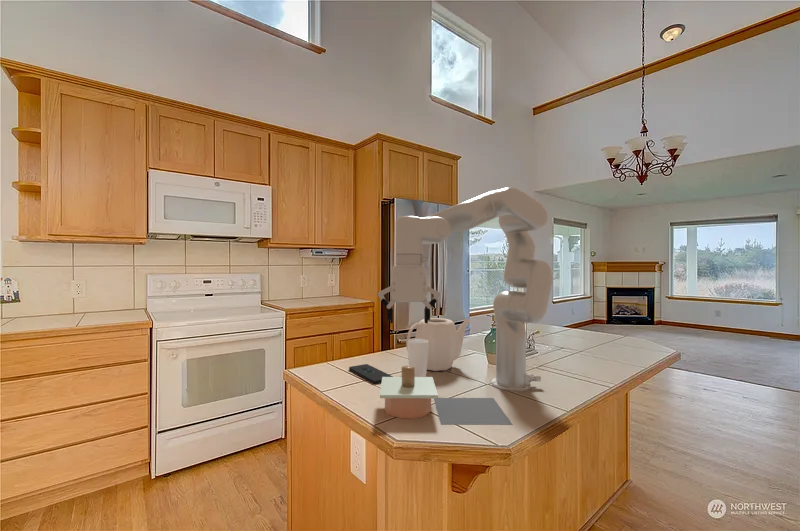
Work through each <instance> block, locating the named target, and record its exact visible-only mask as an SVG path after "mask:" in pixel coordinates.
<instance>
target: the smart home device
mask: <svg viewBox="0 0 800 531" xmlns="http://www.w3.org/2000/svg"><path fill="white" fill-rule="evenodd" d="M348 370H349V372H351V373H353V374H355V375H357V376H359V377H360V378H362V379H364V380H365V381H367V382H369V383H371V384H373V385H379V384H381V383H382V377H394V376H393V375H391V374H389V373H386V372H385V371H383V370H380V369H378V368H377V367H374V366H373V365H370V364H369V363H365V364H358V365H353V366H349V367H348Z"/></svg>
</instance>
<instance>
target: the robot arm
mask: <svg viewBox="0 0 800 531" xmlns="http://www.w3.org/2000/svg"><path fill="white" fill-rule="evenodd" d="M548 217H549V216H548V212H547V209H546V207H545V206H544V205H543V204H542V203H540V202H539V201H538V200H536V199H534V198H533V197H532V196H531V195H529V194H527V193H525V192H524V191H523V190H521V189H518V188H516V187H513V186H509V187H508V186H507V187H503V188H500V189H495V190H490V191H488V192H485V193H483V194H480V195H478V196H476V197H473V198H471V199H468V200H466V201H463V202H460V203H458V204H454V205H452V206H450V207H448V208H445V209H443V210H440V211H437V212H434V213H431V214H429V215H427V216H424V217H419V216H414V215H404V216H403V215H402V216H399V217H397V218H396V220H395V265H392V270H391V277H390V286H388V287H386V288H384V289H382V290H380V291H379V292H377V296H378V297H379V298H378V299H379V300H380V301H381V303H382V305H383V306H385V308H386V309H387V321H389V324H393V323H394V308H393V306H394V305H395V303H422V304H423V305H424V306H425V307H424V312H423V313H424V317H423V319H424V322H425V323H428V320H430V318H431V309H432V307H433V306H434V305H436V303H437V302H438V300H439V298H440V295H441V293H440V291H437V290H435V289H434V288H431V287H429V286H428V278H427V270H426V266H424V265H423V264H425V263H426V262H427V263H428V261H429V258H428V256H424V255H423V247H424V246H423V245H433V244H434V245H435V244H441V243H444V242H445V241H447V240H448V238H450V236H451V234H452V233H458V232H459V233H460V232H465V231H467V230H468V231H469V230H472V229H475V228H476V227H478V226H481V225H483V224H485V223H487V222H489V221H492V220H494V219H496V218H498V223H499V228H500V229H501V230H502V231H503V233H504V234H505V236H506V240H507V241H508V249H507V256H506V260H505V261H506V263H505V265H504V266H505V267H504V270H503V271H504V272H503V281H504V283H505V284H506V286H509V287H511V288H515V289H516V288H517V289H525V292H524V291H514V290H505V291H504V290H503V291H501V292H499V293H498V294H497V295H495V297H494V300H493V303H492V304H493V308H492V309H493V313H494V318H495V329H496V330H495V332H496V333H495V337H496V338H495V339H496V340H495V377H494V378H492V379H491V380H490V381H491V382H490V383H491V386H493V387H494V388H496V389H499V390H503V391H506V392H507V391H508V392H526V391H529V390H530V389H531V388H532V387H531V386H532V385H531V384H532V382H541V381H542V378H541V377H542V376H541V375H538V374H537V375H535V374H534V373H528V372H527V366H526V364H527V361H526V360H527V354H526V353H527V333H526V332H527V331H526V328H525V326H524V323H527V324H538V323H540V322H542V321H543V320H544V318H545V316H546V313H547V310H548V305H549V300H550V294H551V289H552V288H551V287H552V283H553V272H552V269H551V266H550V265H549V263H547V262H546V261H544V260H543V259H534V258H535V253H536V252H535V251H536V246H535V242H534V240H533V238H532V236H531V235H530V233H529V232H530V231H531V232H532V231H538V230H541V229H542V228H544V227H545V225H547V222H548V219H549V218H548ZM387 293H390V298H391V299H390V301H388V300H387V299H386V298H385V295H386V294H387ZM428 293H430V294H432V295H433V297H432V298H431V299H430V301H428Z"/></svg>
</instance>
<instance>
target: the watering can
mask: <svg viewBox="0 0 800 531" xmlns="http://www.w3.org/2000/svg"><path fill="white" fill-rule="evenodd" d="M470 321H471V319H470V318H466V319H465V320H464V321H463V322H462V323H461V324H460V325H459V327H458V328H457V326H456V325H455V322H454V321H453V320H451V319H450V318H449V319H447V318H443V317H430V320H428V323H425V322H424V318H423V319H421V320H420V321H418V322H415V323H414V324H412V325H411V327H410V328H409V330H408V332H407V336H406V340H405V342H406V343H405V344H406V350H407V351H408V341H409V340H411V334H412V332H413V330H414V329H416V332H415V338H414V339H425V340H428V363H427V370H428V371H433V372H439V371H448V370H449V369H451V368H452V366H453V363H454V361H456V360H457V359H458V358H459V357H460V356H461V353H462V352H461V351H462V348H463V342H464V338H465V332H466V331H467V326H468V324H469V323H470Z"/></svg>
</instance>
